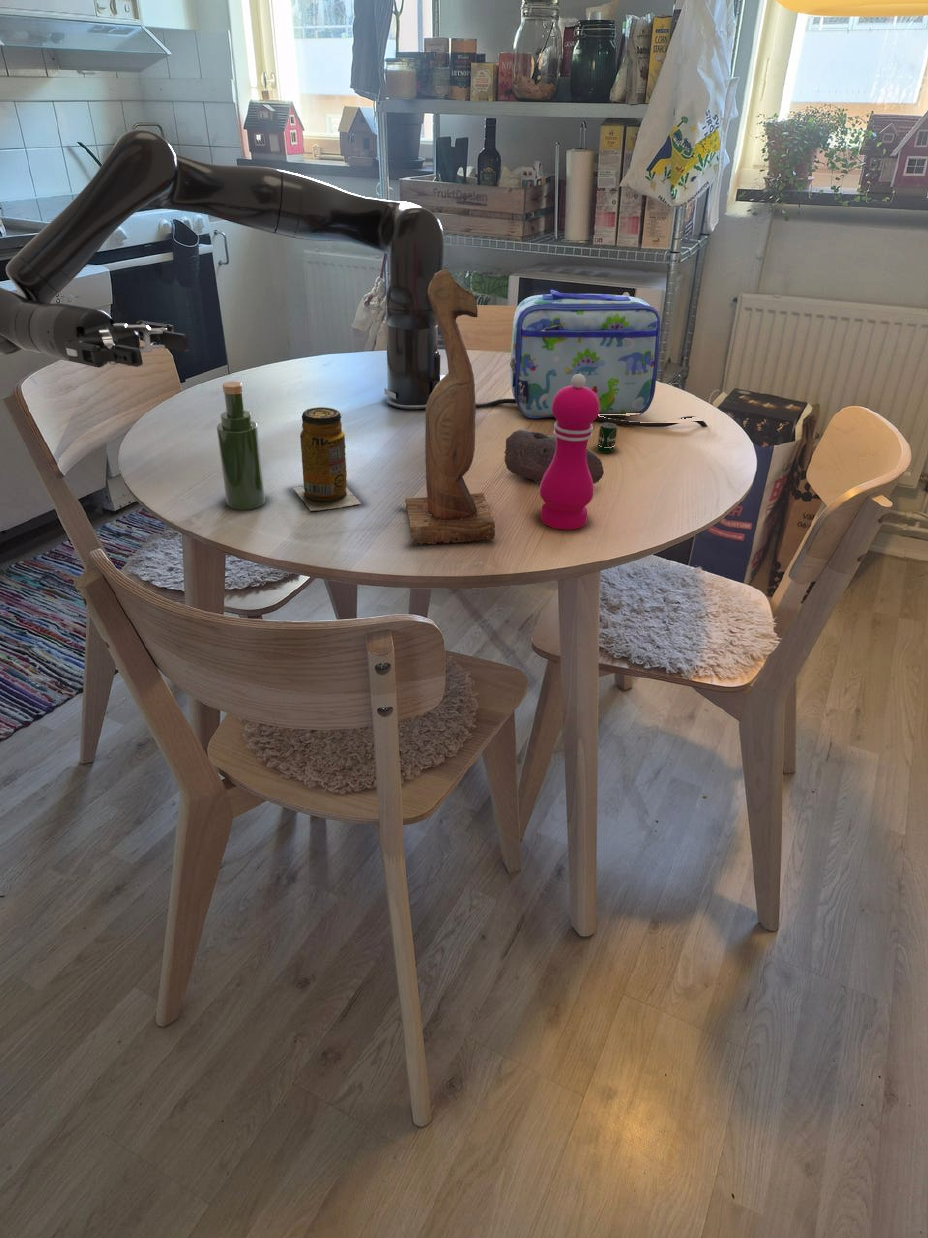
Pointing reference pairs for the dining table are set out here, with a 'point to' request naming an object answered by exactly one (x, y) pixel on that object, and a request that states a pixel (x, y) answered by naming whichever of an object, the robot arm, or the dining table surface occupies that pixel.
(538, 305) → the lunch box
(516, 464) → the perforated stone tool
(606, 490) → the dining table surface
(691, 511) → the dining table surface
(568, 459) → the pepper mill
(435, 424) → the bird sculpture
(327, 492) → the condiment
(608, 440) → the beer can
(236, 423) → the oil bottle
